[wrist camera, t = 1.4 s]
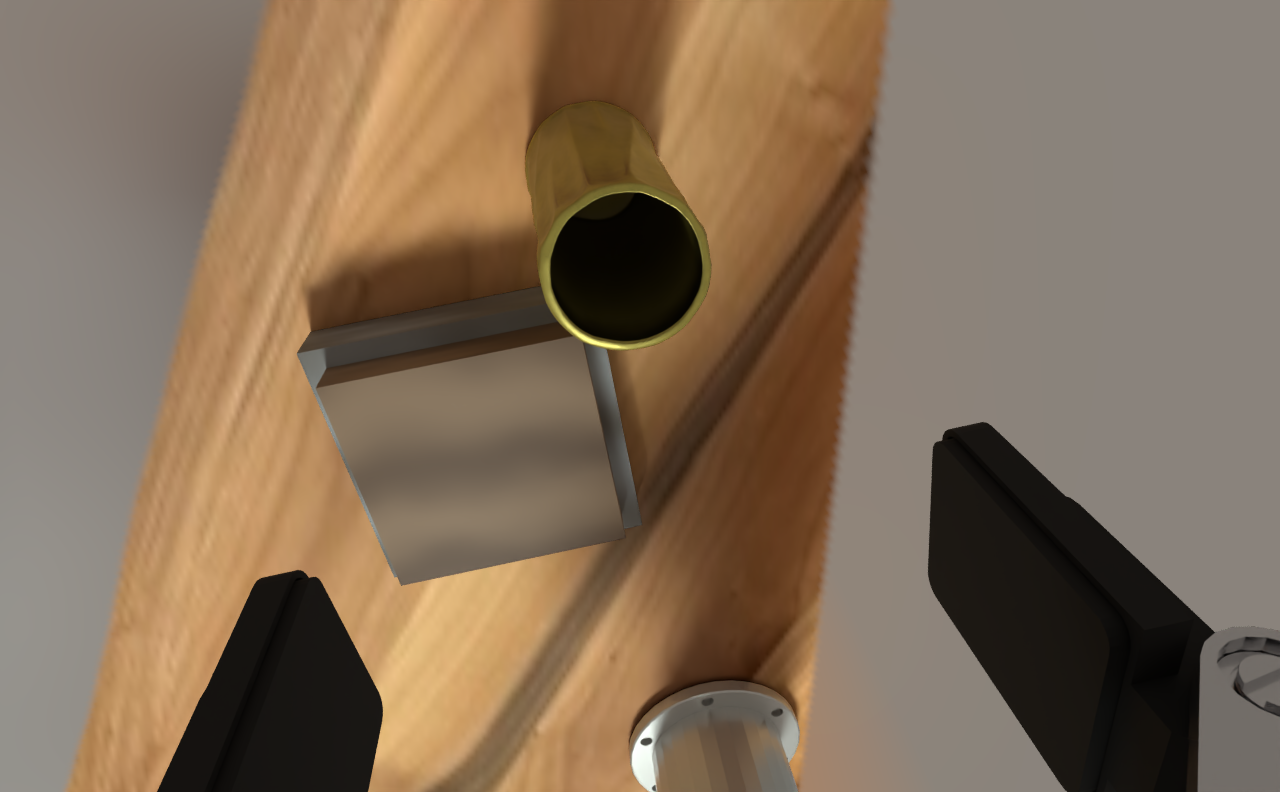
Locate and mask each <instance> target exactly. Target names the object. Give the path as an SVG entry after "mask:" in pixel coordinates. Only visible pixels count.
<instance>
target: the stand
mask: <svg viewBox="0 0 1280 792" xmlns="http://www.w3.org/2000/svg"><path fill="white" fill-rule="evenodd" d="M297 355H298V358H299V360H300V362H301V365H302V367H303V369H304V371H305V374H306V376H307V378H308V381H309V383H310V385H311V388H312V390H313V392H314V394H315V397H316V399H317V401H318V404H319V406H320V408H321V410H322V413H323V415H324V417H325V420H326V422H327V424H328V426H329V429H330V431H331V433H332V436H333V438H334V440H335V442H336V445H337V447H338V449H339V452H340V454H341V456H342V458H343V461H344V463H345V465H346V468H347V470H348V472H349V474H350V477H351V479H352V481H353V484H354V486H355V488H356V490H357V493H358V495H359V497H360V500H361V502H362V504H363V506H364V509H365V511H366V513H367V516H368V518H369V520H370V522H371V525H372V527H373V529H374V532H375V534H376V536H377V538H378V541H379V543H380V545H381V548H382V550H383V552H384V555H385V557H386V559H387V561H388V564H389V566H390V568H391V571H392V573H393V575H394V577H398V579H399V582H400V584H401V586H402V585H407V584H411V583H416V582H421V581H426V580H430V579H435V578H440V577H444V576H449V575H454V574H459V573H463V572H468V571H473V570H477V569H482V568H487V567H492V566H496V565H501V564H506V563H511V562H515V561H520V560H525V559H529V558H534V557H539V556H544V555H548V554H553V553H558V552H562V551H567V550H572V549H577V548H581V547H586V546H591V545H595V544H600V543H605V542H610V541H614V540H619V539H624V538H626V536H625V531H624V529H626V528H630V527H635V526H640V525H642V521H641V516H640V511H639V506H638V501H637V496H636V492H635V487H634V482H633V477H632V472H631V467H630V462H629V457H628V452H627V447H626V442H625V437H624V432H623V428H622V423H621V418H620V413H619V408H618V403H617V398H616V393H615V388H614V383H613V378H612V373H611V368H610V364H609V359H608V354H607V349H604V348H600V347H596V346H593V345H589V344H587V343H584V342H582V341H580V340H579V339H577V338H576V337H574V336H573V335H572V334H570V333H569V332H568V331H567V330H566V329H565V328H564V327H563V326H562V325H561V324H560V323H559V322H558V321H557V320H556V318H555V317H554V315H553V314H552V313H551V311H550V309H549V307H548V305H547V304H546V301H545V298H544V295H543V292H542V288H541V286H538V287H533V288H528V289H523V290H518V291H513V292H508V293H503V294H498V295H493V296H488V297H483V298H478V299H473V300H468V301H463V302H458V303H453V304H448V305H443V306H438V307H433V308H428V309H423V310H418V311H413V312H407V313H402V314H397V315H392V316H387V317H382V318H377V319H372V320H367V321H362V322H357V323H352V324H347V325H342V326H337V327H332V328H327V329H322V330H317V331H312V332H310V334H309V335H308V337H307V338H306V340H305V341H304V343H303V344H302V346H301V348H300V349H299V351H298V352H297Z"/></svg>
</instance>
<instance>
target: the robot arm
mask: <svg viewBox="0 0 1280 792" xmlns="http://www.w3.org/2000/svg"><path fill="white" fill-rule="evenodd" d="M932 458H933V459H932V483H931V511H930V534H929V536H930V537H929V559H928V576H929V581H930V585H931V588H932V590H933V592H934V594H935V596H936V598H937V599H938V601H939V602H940V604H941V605H942V607H943V608H944V610H945V611H946V613H947V614H948V616H949V617H950V619H951V620H952V622H953V623H954V625H955V626H956V628H957V629H958V631H959V632H960V634H961V635H962V637H963V638H964V640H965V641H966V643H967V644H968V646H969V647H970V649H971V650H972V652H973V653H974V655H975V656H976V658H977V659H978V661H979V662H980V664H981V665H982V667H983V668H984V670H985V671H986V673H987V674H988V676H989V677H990V679H991V680H992V682H993V683H994V685H995V686H996V688H997V689H998V691H999V692H1000V694H1001V695H1002V697H1003V698H1004V700H1005V701H1006V703H1007V704H1008V706H1009V707H1010V709H1011V710H1012V712H1013V713H1014V715H1015V716H1016V718H1017V719H1018V721H1019V722H1020V724H1021V725H1022V727H1023V728H1024V730H1025V731H1026V733H1027V734H1028V736H1029V737H1030V739H1031V740H1032V742H1033V743H1034V745H1035V746H1036V748H1037V750H1038V751H1039V752H1040V754H1041V756H1042V757H1043V759H1044V760H1045V761H1046V763H1047V765H1048V766H1049V768H1050V769H1051V771H1052V772H1053V773H1054V775H1055V777H1056V778H1057V780H1058V781H1059V782H1060V784H1061V785H1062V786H1063V788H1064V789H1065V790H1066V791H1067V792H1280V631H1278V630H1273V629H1266V628H1260V627H1254V626H1251V627H1231V628H1228V629H1225V630H1222V631H1219V632H1214V631H1213V630H1212V629H1211V628H1210V627H1209V626H1208V625H1207V624H1205V623H1204V622H1203V621H1202V620H1201V619H1200V618H1199V617H1198V616H1197V615H1196V614H1195V613H1194V612H1193V611H1191V609H1190V608H1188V606H1186V605H1185V604H1184V603H1183V602H1182V601H1181V600H1180V599H1179V598H1178V597H1177V596H1176V595H1175V594H1174V593H1173V592H1172V591H1171V590H1170V589H1168V588H1167V587H1166V586H1165V585H1164V584H1163V583H1162V582H1161V581H1160V580H1159V579H1158V578H1157V577H1156V576H1155V575H1153V574H1152V573H1151V572H1150V571H1149V570H1148V569H1147V568H1146V567H1145V566H1144V565H1143V564H1142V563H1141V562H1140V561H1139V560H1138V559H1137V558H1136V557H1135V556H1133V555H1132V554H1131V553H1130V552H1129V551H1128V550H1127V549H1126V548H1125V547H1124V546H1123V545H1122V544H1121V543H1120V542H1119V541H1118V540H1117V539H1115V538H1114V537H1113V536H1112V535H1111V534H1110V533H1109V532H1108V531H1107V530H1106V529H1105V528H1104V527H1103V526H1102V525H1101V524H1100V523H1098V522H1097V521H1096V520H1095V519H1094V518H1093V517H1092V516H1091V515H1090V514H1089V513H1088V512H1087V511H1086V510H1085V509H1084V508H1083V507H1081V506H1080V505H1079V504H1078V503H1077V502H1075V501H1074V500H1073V499H1071V498H1069V497H1066V496H1065V495H1064V494H1063V493H1061V492H1060V491H1059V490H1058V489H1057V488H1056V487H1055V486H1054V485H1053V484H1052V483H1051V482H1050V481H1049V480H1048V479H1047V478H1046V477H1045V476H1044V475H1042V473H1040V472H1039V471H1038V470H1037V469H1036V468H1035V467H1034V466H1033V465H1032V464H1031V463H1030V462H1029V461H1028V460H1027V459H1026V458H1025V457H1024V456H1023V455H1021V454H1020V453H1019V452H1018V451H1017V450H1016V449H1015V448H1014V447H1013V446H1012V445H1011V444H1010V443H1009V442H1008V441H1007V440H1006V439H1005V438H1004V437H1003V436H1002V435H1001V434H1000V433H998V432H997V431H996V430H995V429H994V428H993V427H992V426H991V425H989V424H988V423H984V422H981V423H976V424H972V425H967V426H962V427H958V428H953V429H949V430H947V431H945V433H944V435H943V440H942V441H939V442H936V443H935V444H934V446H933V457H932ZM382 718H383V707H382V701H381V697H380V694H379V692H378V690H377V688H376V686H375V684H374V682H373V680H372V678H371V677H370V675H369V673H368V671H367V669H366V667H365V665H364V663H363V661H362V659H361V657H360V655H359V653H358V652H357V650H356V648H355V646H354V644H353V642H352V640H351V638H350V636H349V634H348V632H347V630H346V628H345V627H344V625H343V623H342V621H341V619H340V617H339V615H338V613H337V611H336V609H335V607H334V605H333V603H332V602H331V600H330V598H329V596H328V594H327V592H326V590H325V588H324V586H323V584H322V583H321V581H320V580H319V579H318V578H317V577H311V578H308V576H307V575H306V573H304V572H303V571H301V570H296V571H292V572H287V573H282V574H278V575H273V576H268V577H264V578H261V579H259V580H257V581H256V583H255V584H254V586H253V588H252V590H251V592H250V595H249V597H248V599H247V601H246V603H245V606H244V608H243V610H242V612H241V614H240V616H239V619H238V621H237V623H236V625H235V627H234V629H233V632H232V634H231V636H230V638H229V640H228V643H227V645H226V647H225V649H224V651H223V653H222V656H221V658H220V660H219V662H218V664H217V667H216V669H215V671H214V673H213V675H212V677H211V680H210V682H209V684H208V686H207V688H206V690H205V691H204V693H203V695H202V696H201V698H200V700H199V702H198V704H197V706H196V709H195V711H194V713H193V715H192V717H191V719H190V722H189V724H188V726H187V728H186V730H185V732H184V735H183V737H182V739H181V741H180V743H179V745H178V748H177V750H176V752H175V754H174V756H173V758H172V761H171V763H170V765H169V767H168V769H167V771H166V774H165V776H164V778H163V780H162V782H161V784H160V787H159V789H158V791H157V792H368V789H369V784H370V779H371V774H372V769H373V764H374V759H375V754H376V749H377V744H378V739H379V734H380V729H381V724H382ZM799 734H800V730H799V726H798V722H797V719H796V717H795V714H794V712H793V709H792V707H791V706H790V704H789V703H788V702H787V701H786V699H785V698H784V697H782V696H781V695H780V694H778V693H777V692H776V691H774V690H772V689H770V688H767V687H765V686H763V685H759V684H755V683H751V682H745V681H734V680H730V681H714V682H709V683H704V684H699V685H696V686H693V687H689V688H686V689H683V690H681V691H679V692H677V693H675V694H673V695H671V696H669V697H667V698H666V699H664V700H663V701H661V702H660V703H658V704H657V705H655V706H654V707H653V708H652V709H651V710H650V711H649V712H647V713H646V714H645V715H644V716H643V718H642V719H641V720H640V722H639V723H638V724H637V726H636V727H635V729H634V732H633V734H632V736H631V739H630V745H629V754H630V764H631V768H632V771H633V774H634V776H635V777H636V779H637V781H638V782H639V783H640V784H641V785H642V786H643V787H644V788H645V789H646V790H648V791H649V792H798V789H797V786H796V783H795V780H794V777H793V774H792V772H791V769H790V766H789V762H790V760H791V759H792V757H793V755H794V754H795V752H796V749H797V746H798V743H799Z"/></svg>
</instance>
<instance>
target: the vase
mask: <svg viewBox="0 0 1280 792" xmlns="http://www.w3.org/2000/svg"><path fill="white" fill-rule="evenodd" d="M525 173H526V180H527V187H528V191H529V193H530V195H531V202H532V213H533V220H534V226H535V229H536V233H537V237H538V246H537V256H536V259H537V268H538V273H539V279H540V283H541V288H542V292H543V295H544V298H545V301H546V304H547V305H548V307H549V309H550V311H551V313H552V314H553V315H554V317H555V318H556V320H557V321H558V322H559V323H560V324H561V325H562V326H563V327H564V328H565V329H566V330H567V331H568V332H569V333H570V334H572V335H573V336H574V337H576V338H577V339H579V340H580V341H582V342H584V343H587V344H589V345H593V346H596V347H600V348H604V349H609V350H634V349H640V348H645V347H649V346H653V345H656V344H659V343H661V342H663V341H665V340H667V339H669V338H670V337H672V336H673V335H675V334H676V333H677V332H679V331H680V330H681V329H682V328H684V327H685V326H686V325H687V324H688V323H689V321H690V320H691V319H692V317H693V316H694V315H695V313H696V312H697V310H698V309H699V307H700V306H701V304H702V302H703V301H704V299H705V297H706V294H707V291H708V288H709V284H710V278H711V259H710V253H709V246H708V241H707V235H706V232H705V230H704V227H703V226H702V224H701V223H700V222H699V221H698V219H697V218H696V216H695V215H694V213H693V212H692V210H691V209H690V207H689V206H688V204H687V202H686V200H685V198H684V197H683V196H682V194H681V193H680V191H679V190H678V189H677V187H676V186H675V184H674V183H673V181H672V179H671V177H670V176H669V174H668V172H667V171H666V169H665V167H664V165H663V164H662V163H661V161H660V160H659V158H658V157H657V155H656V153H655V149H654V146H653V143H652V140H651V138H650V136H649V134H648V132H647V131H646V129H645V128H644V127H643V125H642V124H641V123H640V122H639V121H638V120H637V119H636V118H635V117H634V116H633V115H632V114H631V113H629V112H627V111H626V110H624V109H622V108H620V107H617V106H615V105H612V104H609V103H606V102H601V101H586V102H581V103H575V104H570V105H567V106H564V107H562V108H560V109H559V110H557V111H556V112H554V113H553V114H552V115H550V116H549V117H548V118H547V119H546V120H544V121H543V122H542V123H541V125H540V126H539V127H538V129H537V130H536V132H535V134H534V136H533V138H532V140H531V142H530V144H529V147H528V150H527V154H526V158H525Z"/></svg>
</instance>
